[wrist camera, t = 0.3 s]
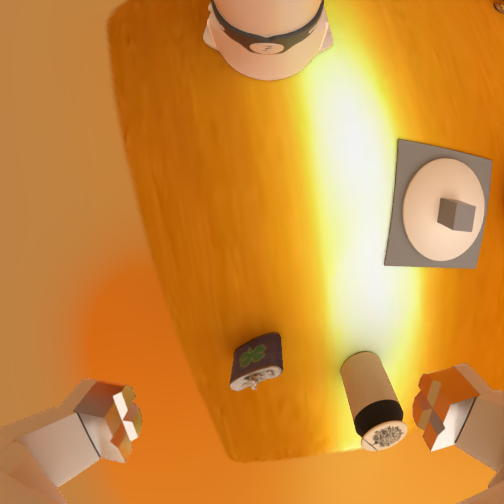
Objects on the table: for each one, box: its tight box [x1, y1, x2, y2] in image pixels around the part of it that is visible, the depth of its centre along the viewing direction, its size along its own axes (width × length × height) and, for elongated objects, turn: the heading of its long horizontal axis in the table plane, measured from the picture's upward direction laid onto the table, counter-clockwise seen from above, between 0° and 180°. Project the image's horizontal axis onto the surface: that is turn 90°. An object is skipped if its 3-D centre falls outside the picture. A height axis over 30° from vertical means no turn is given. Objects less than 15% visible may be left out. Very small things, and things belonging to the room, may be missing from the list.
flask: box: [229, 332, 283, 391], centre depth 47 cm, size 9×3×11 cm, turn 121°
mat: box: [384, 139, 492, 269], centre depth 43 cm, size 20×20×1 cm
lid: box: [402, 158, 485, 261], centre depth 40 cm, size 17×17×6 cm
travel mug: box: [341, 352, 407, 451], centre depth 45 cm, size 8×8×18 cm
